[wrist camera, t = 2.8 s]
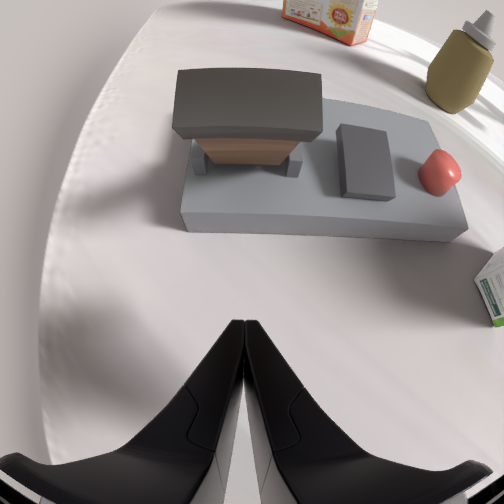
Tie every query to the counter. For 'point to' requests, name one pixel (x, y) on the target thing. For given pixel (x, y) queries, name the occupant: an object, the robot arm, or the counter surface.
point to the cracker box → (334, 17)
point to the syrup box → (493, 286)
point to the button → (439, 173)
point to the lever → (248, 112)
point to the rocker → (364, 163)
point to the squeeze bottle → (461, 65)
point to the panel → (324, 187)
